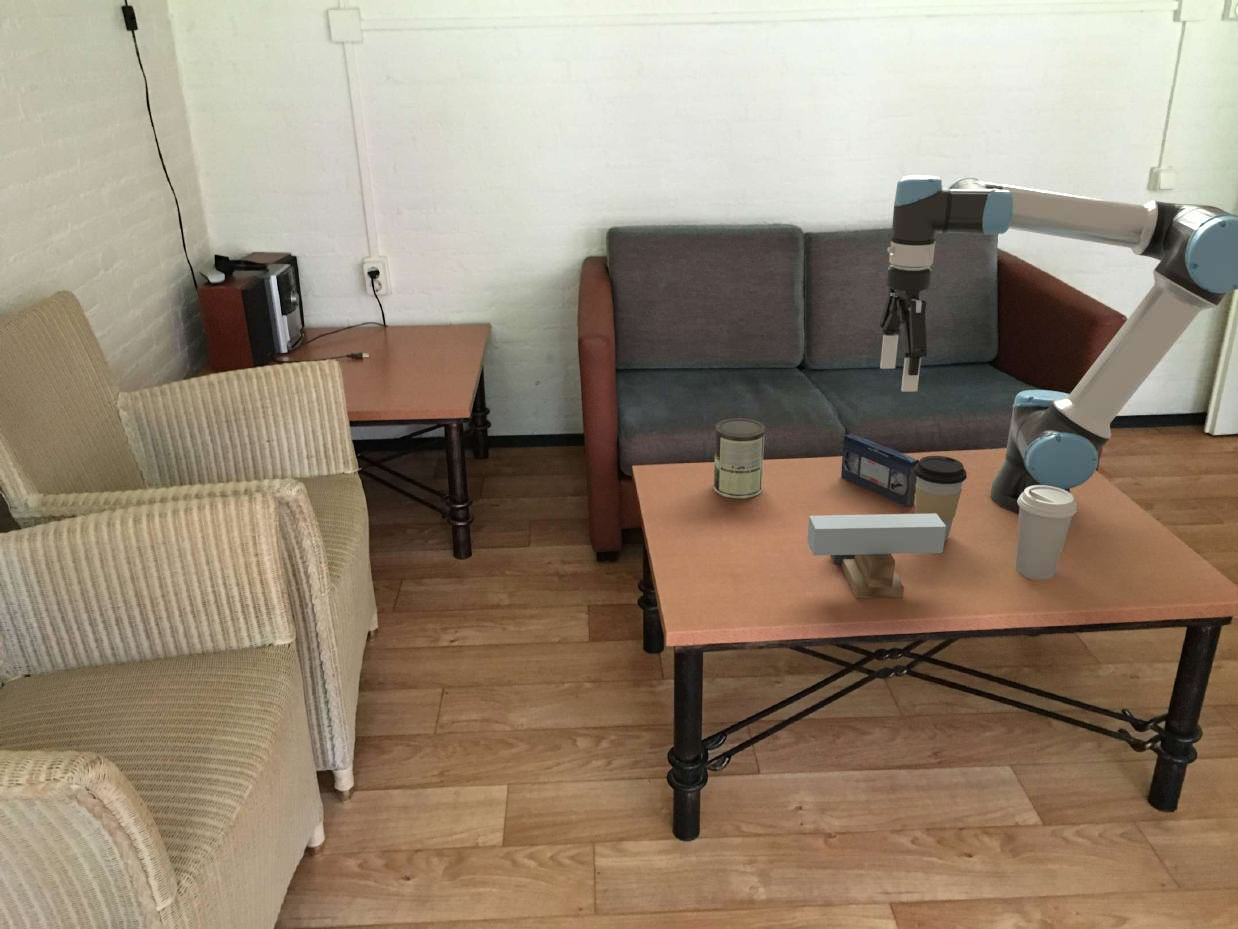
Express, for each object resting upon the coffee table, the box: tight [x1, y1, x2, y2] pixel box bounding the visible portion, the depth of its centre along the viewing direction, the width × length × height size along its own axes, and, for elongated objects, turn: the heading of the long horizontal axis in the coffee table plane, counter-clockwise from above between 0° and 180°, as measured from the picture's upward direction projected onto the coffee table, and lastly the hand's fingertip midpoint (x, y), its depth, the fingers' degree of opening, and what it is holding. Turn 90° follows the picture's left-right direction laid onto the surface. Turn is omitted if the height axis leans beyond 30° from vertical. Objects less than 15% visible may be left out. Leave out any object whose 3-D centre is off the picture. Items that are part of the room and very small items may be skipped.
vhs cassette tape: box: [840, 433, 920, 508], centre depth 204 cm, size 18×3×10 cm, turn 33°
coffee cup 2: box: [1015, 485, 1078, 581], centre depth 171 cm, size 10×10×15 cm
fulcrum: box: [841, 554, 905, 599], centre depth 169 cm, size 8×10×7 cm
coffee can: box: [713, 417, 766, 500], centre depth 204 cm, size 10×10×14 cm
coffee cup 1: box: [914, 455, 968, 542], centre depth 184 cm, size 9×9×15 cm
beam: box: [806, 513, 946, 556], centre depth 167 cm, size 22×5×5 cm, turn 91°
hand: (897, 379), depth 183 cm, fingers open, 13 cm apart
